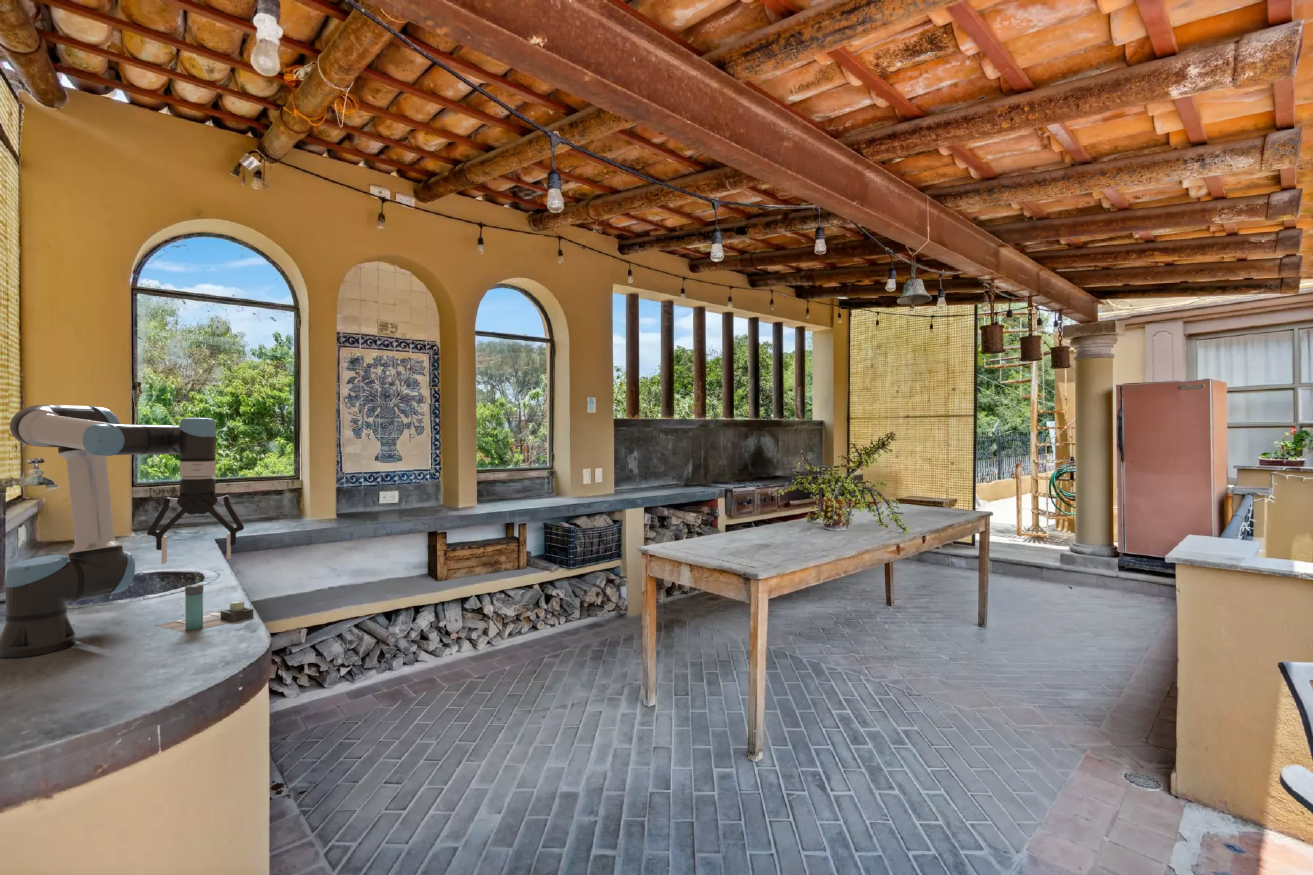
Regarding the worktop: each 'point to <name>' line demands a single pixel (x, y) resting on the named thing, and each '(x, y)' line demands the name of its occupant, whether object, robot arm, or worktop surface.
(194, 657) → the worktop surface
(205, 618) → the clipboard
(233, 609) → the button
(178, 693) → the worktop surface
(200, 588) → the marker
